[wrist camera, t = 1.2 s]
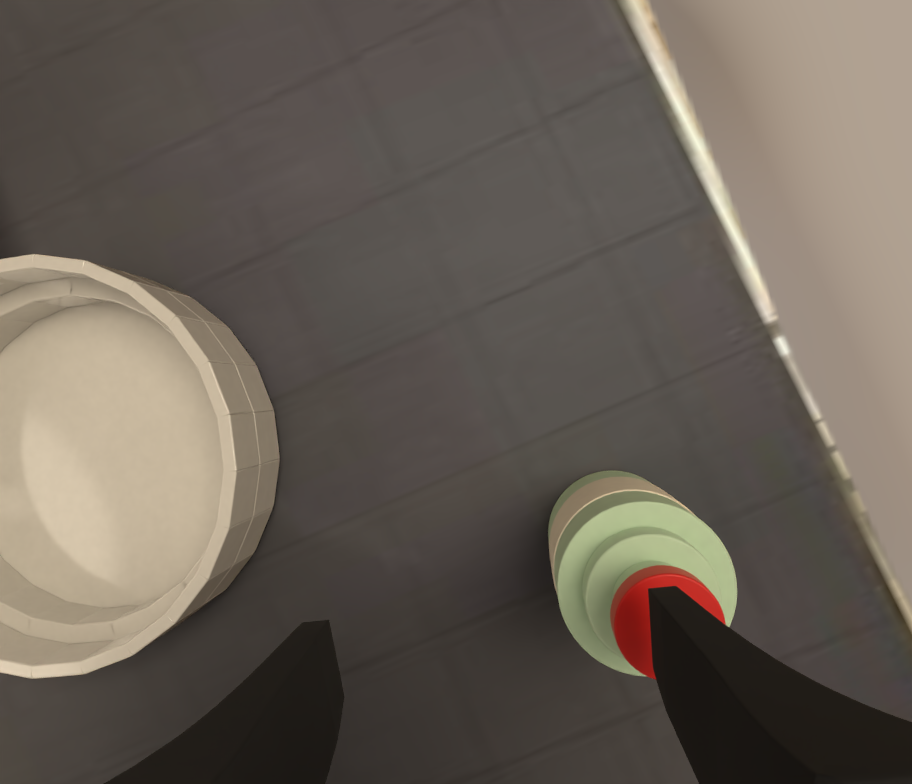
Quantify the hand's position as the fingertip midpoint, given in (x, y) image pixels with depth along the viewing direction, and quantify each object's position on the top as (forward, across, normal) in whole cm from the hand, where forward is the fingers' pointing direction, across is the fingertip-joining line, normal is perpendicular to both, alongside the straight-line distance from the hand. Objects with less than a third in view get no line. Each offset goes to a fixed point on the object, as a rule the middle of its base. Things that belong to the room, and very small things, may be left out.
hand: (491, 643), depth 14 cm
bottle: (+11, -5, +3) cm, 12 cm away
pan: (+13, +16, -2) cm, 20 cm away
